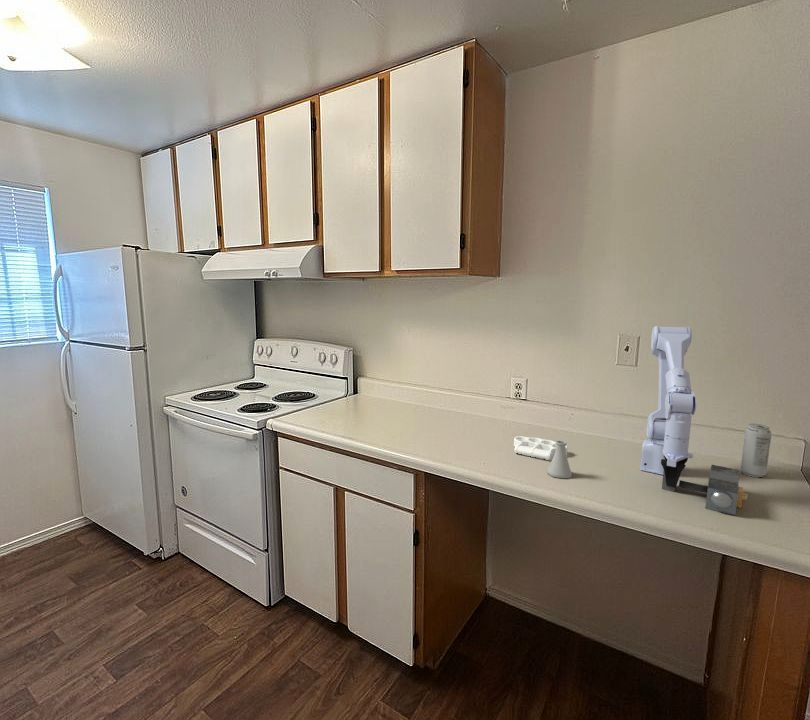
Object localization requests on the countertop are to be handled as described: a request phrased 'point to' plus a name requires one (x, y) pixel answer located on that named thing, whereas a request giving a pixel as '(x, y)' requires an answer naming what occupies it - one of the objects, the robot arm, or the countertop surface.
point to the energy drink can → (756, 450)
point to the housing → (722, 489)
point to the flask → (560, 462)
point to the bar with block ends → (702, 489)
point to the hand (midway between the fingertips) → (672, 483)
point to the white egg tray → (535, 447)
